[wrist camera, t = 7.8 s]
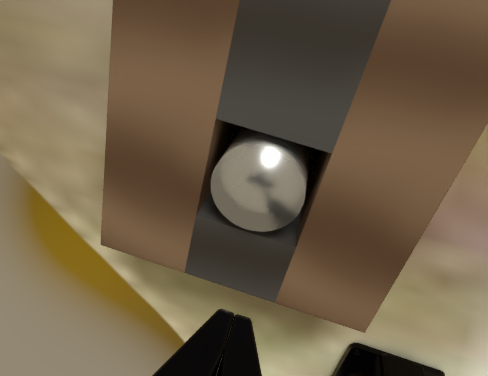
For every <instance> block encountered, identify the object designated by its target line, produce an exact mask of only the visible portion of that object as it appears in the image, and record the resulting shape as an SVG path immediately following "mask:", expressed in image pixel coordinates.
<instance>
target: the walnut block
mask: <svg viewBox="0 0 488 376" xmlns="http://www.w3.org/2000/svg"><path fill="white" fill-rule="evenodd" d="M487 123H488V0H113V13H112V33H111V52H110V72H109V92H108V111H107V131H106V150H105V170H104V189H103V209H102V229H101V245H103V246H106V247H109V248H112V249H115V250H118V251H121V252H124V253H127V254H130V255H133V256H136V257H139V258H142V259H145V260H148V261H151V262H154V263H157V264H160V265H163V266H166V267H169V268H172V269H175V270H178V271H181V272H184V273H187V274H190V275H193V276H196V277H199V278H202V279H205V280H208V281H211V282H214V283H217V284H220V285H223V286H226V287H229V288H232V289H235V290H238V291H241V292H244V293H247V294H250V295H253V296H256V297H259V298H262V299H265V300H268V301H271V302H274V303H277V304H280V305H283V306H286V307H289V308H292V309H295V310H298V311H301V312H304V313H307V314H310V315H313V316H316V317H319V318H322V319H325V320H328V321H331V322H334V323H337V324H340V325H343V326H346V327H349V328H352V329H355V330H358V331H361V332H364V333H365V331H366V330H367V328H368V326H369V325H370V323H371V321H372V319H373V318H374V316H375V314H376V313H377V311H378V309H379V308H380V306H381V304H382V302H383V301H384V299H385V297H386V296H387V294H388V292H389V290H390V289H391V287H392V285H393V284H394V282H395V280H396V279H397V277H398V275H399V273H400V272H401V270H402V268H403V267H404V265H405V263H406V262H407V260H408V258H409V256H410V255H411V253H412V251H413V250H414V248H415V246H416V244H417V243H418V241H419V239H420V238H421V236H422V234H423V233H424V231H425V229H426V227H427V226H428V224H429V222H430V221H431V219H432V217H433V215H434V214H435V212H436V210H437V209H438V207H439V205H440V204H441V202H442V200H443V198H444V197H445V195H446V193H447V192H448V190H449V188H450V187H451V185H452V183H453V181H454V180H455V178H456V176H457V175H458V173H459V171H460V169H461V168H462V166H463V164H464V163H465V161H466V159H467V158H468V156H469V154H470V152H471V151H472V149H473V147H474V146H475V144H476V142H477V140H478V139H479V137H480V135H481V134H482V132H483V130H484V129H485V127H486V125H487ZM234 124H235V125H239V126H242V127H245V128H249V129H252V130H255V131H259V132H262V133H265V134H269V135H272V136H275V137H279V138H282V139H285V140H289V141H292V142H295V143H299V144H302V145H305V146H309V147H312V148H315V149H319V150H320V152H319V155H318V158H317V161H316V163H315V166H314V169H313V172H312V174H311V177H310V180H309V183H308V185H307V188H306V193H305V200H304V204H303V207H302V209H301V211H300V213H299V214H298V216H297V217H296V218H295V219H294V220H293V221H292V222H290V223H289V224H287V225H286V226H284V227H282V228H280V229H277V230H273V231H265V232H260V231H251V230H248V229H244V228H242V227H239V226H237V225H235V224H234V223H232V222H231V221H229V220H228V219H227V218H226V217H225V216H224V215H223V214H222V213H221V212H220V210H219V209H218V208H217V206H216V204H215V202H214V200H213V197H212V193H211V177H212V173H213V171H214V168H215V166H216V165H217V163H218V162H219V160H220V159H221V158H222V156H223V155H224V153H225V152H226V150H227V149H228V147H229V145H230V140H231V136H232V132H233V127H234Z"/></svg>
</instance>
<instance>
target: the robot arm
mask: <svg viewBox="0 0 488 376" xmlns="http://www.w3.org/2000/svg"><path fill="white" fill-rule="evenodd" d="M233 319H234V320H233ZM232 322H233V323H232ZM230 329H231V330H230ZM229 332H230V333H229ZM228 335H229V336H228ZM226 342H227V343H226ZM225 345H226V346H225ZM355 350H358V351H355ZM222 355H223V356H222ZM221 358H222V359H221ZM219 365H220V366H219ZM218 368H219V369H218ZM217 371H218V372H217ZM153 376H262V374H261V369H260V363H259V358H258V353H257V348H256V342H255V337H254V332H253V326H252V322H251V319H250V318H247V317H244V316H241V315H238V314H237V315H235V317H234V313H232V312H229V311H226V310H223V309H219V310H218V311H216V312H215V313H214V314H213V315H212V316H211V317H210V318H209V319H208V320H207V321H206V322H205V323H204V324H203V325H202V326H201V327H200V328H199V329H198V330H197V331H196V332H195V333H194V334H193V335H192V336H191V337H190V338H189V339H188V340H187V341H186V342H185V343H184V344H183V346H181V347H180V348H179V349H178V350H177V351H176V353H175V354H174V355H172V356H171V357H170V358H169V359H168V361H166V362H165V363H164V364H163V365H162V366H161V367H160V368H159V369H158V370H157V371H156V372H155V374H154V375H153ZM333 376H445V374H444V372H442V371H440V370H437V369H434V368H431V367H428V366H425V365H422V364H419V363H416V362H413V361H410V360H407V359H404V358H401V357H398V356H395V355H392V354H389V353H386V352H383V351H380V350H377V349H375V348H372V347H369V346H366V345H363V344H360V343H353V344H351V345H350V346H349V348H348V349H347V351H346V353H345V355H344V356H343V358H342V360H341V362H340V363H339V365H338V367H337V369H336V370H335V372H334V374H333Z"/></svg>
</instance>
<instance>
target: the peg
mask: <svg viewBox="0 0 488 376" xmlns="http://www.w3.org/2000/svg"><path fill="white" fill-rule="evenodd" d="M310 157H311V147H309V146H305V145H302V144H299V143H295V142H292V141H289V140H285V139H282V138H279V137H275V136H272V135H269V134H265V133H262V132H259V131H255V130H252V129H249V128H245V127H242V128H241V129H240V131H239V132H238V134H237V135H236V137H235V138H234V140H233V141H232V143H231V144H230V146H229V147H228V149H227V150H226V152H225V153H224V155H223V156H222V158H221V159H220V160H219V162H218V163H217V165H216V166H215V168H214V171H213V173H212V177H211V193H212V197H213V200H214V202H215V204H216V206H217V208H218V209H219V210H220V212H221V213H222V214H223V215H224V216H225V217H226V218H227V219H228V220H229V221H231V222H232V223H234V224H235V225H237V226H239V227H242V228H244V229H248V230H251V231H260V232H265V231H273V230H277V229H280V228H282V227H284V226H286V225H287V224H289V223H290V222H292V221H293V220H294V219H295V218H296V217H297V216H298V214H299V213H300V211H301V209H302V207H303V204H304V200H305V193H306V186H307V179H308V172H309V165H310Z"/></svg>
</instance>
